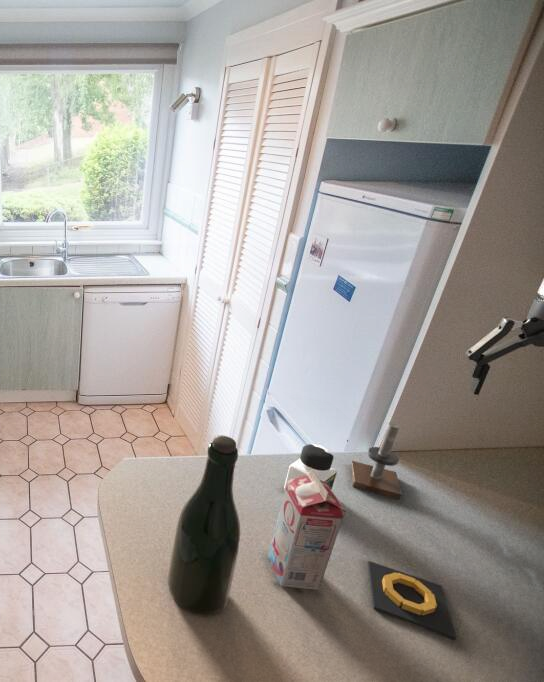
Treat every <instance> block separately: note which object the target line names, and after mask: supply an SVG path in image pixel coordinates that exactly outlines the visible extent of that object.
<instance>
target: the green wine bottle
mask: <svg viewBox="0 0 544 682" xmlns="http://www.w3.org/2000/svg"><path fill="white" fill-rule="evenodd" d="M206 453H207V454H206V455H207V457H206V461H205V466H204V470H203V474H202V477H201V480H200V481H199V484H198V485H197V487H196V489H195V490H194V491H193V492H192V494H191V495H190V497H189V498H188V499H187V500H186V502H185V503H184V505H183V507H182V508H181V511H180V513H179V517H178V520H177V525H176V528H175V533H174V539H173V545H172V551H171V556H170V561H169V568H168V574H167V588H168V590H169V593H170V594H171V596H172V599H174V601H175V602H176V603H177V604H178V606H180V607H181V608H182V609H184V610H186V611H188V613H189V612H190V613H192V614H195V615H197V616H202V617H204V616H205V617H210V616H215V615H217V614H219V613H221V612H222V611H223V610H224V609H225V608H226V607H227V605H228V602H229V600H230V599H229V598H230V595H231V590H232V586H233V580H234V574H235V570H236V565H237V560H238V555H239V554H238V553H239V550H240V549H239V548H240V539H241V521H240V518H239V513H238V510H237V509H238V508H237V506H236V502H235V498H234V476H235V469H236V464H237V462H238V458H239V451H238V448H237V442H236V440H235V439H234V438H232V437H230V436H228V435H215V437H213V440H212V441H211V442H210V443H209V445H208V447H207V451H206Z"/></svg>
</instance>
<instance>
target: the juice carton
mask: <svg viewBox="0 0 544 682" xmlns="http://www.w3.org/2000/svg"><path fill="white" fill-rule="evenodd" d="M345 513H346V510H345V509H344V507H343V506H342V504H341V502H340V501H339V499H338V498H337V496H336V495H335V493H334V492H333V491H332V489H330V488H329V486H328V485H327V484H326V483H325V482H323V481H321V480H319V478H318V477H317V475H316V474H315V472H314V471H313V469H312V468H311V467H310V471H309V475H305V476H302V477H298V478H295V479H291V480H289V481H288V482H287V486H286V490H285V489H284V493H283V498H282V502H281V505H280V510H279V513H278V516H277V517H278V518H277V521H276V525H275V529H274V532H273V536H272V540H271V544H270V546H269V551H268V555H267V557H268V559H269V562H270V564H271V567H272V569H273V572H274V574H275V576H276V578H277V581H278V583H279V586H280V587H287V588H297V589H305V590H314V591H315V590H316V591H319V590H320V588H321V586H322V582H323V579H324V576H325V573H326V570H327V567H328V564H329V561H330V559H331V555H332V552H333V549H334V546H335V543H336V540H337V537H338V534H339V531H340V529H341V526H342V522H343V520H344V515H345Z"/></svg>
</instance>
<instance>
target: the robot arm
mask: <svg viewBox="0 0 544 682" xmlns="http://www.w3.org/2000/svg"><path fill="white" fill-rule="evenodd" d="M537 294H538V296H535V298H534V299H533V302H532V304H531V307H530V308H529V311H528V313H527V317H526V318H525V319H524V320H522V321H521V320H516V319H512V318H511V317H509V316H503V317H502V319H501V320H500V322H499V323H498V325H497V326H496V327H495V328H494V329H492V330H491V331H490V332H489V333H488V334H486V335H485V336H484V337H483V338H481V339H480V340H479V341H478V342H476V343H475V344H473V346H471V347H470V348H469V349H467V350H466V351H465V353H464V354H465V355H466V357H467V358H468V360H470V361H473V362H474V363H473V365H472V368H471V370H470V376H471V378H473V380H472V382H471V384H470V388H469V389H470V391H471V393H472V394H473V395H476V396H479V395H480V392H481V390H482V387H483V386H484V383H485V381H486V378H487V376H488V374H489V371H490V369H491V366H490V364H489V363H492V362H493V361H495V360H497V359H500V358H502V357H504V356H506V355H508V354H510V353H512V352H515V351H516V350H519V349H521V348H525V347H527V346H529V345H533V346H534V347H540V348H544V278H543V279H542V281H541V284H540V286H539V288H538V290H537ZM518 328H520V330H521V332H520V333H518V334H516V335H514V336H512V338H510V339H507V340H506V341H504V342H501V343H499V344H498V345H496V344H497V343H498V342H500V341H501V340H502V339H504V338H505V337H506V336H507V335H508V334H509V333H510V332H513V331H515V330H517V329H518ZM495 345H496V346H495Z"/></svg>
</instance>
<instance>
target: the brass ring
mask: <svg viewBox="0 0 544 682" xmlns="http://www.w3.org/2000/svg"><path fill="white" fill-rule="evenodd" d="M395 583H401V584H404V585H407V586H410V587H413V588H414V589H415V590H416V591H417V592H418V593H420V594H421V595H422V596H423V597H424V601H425V603H422V604H416V603H414V602H411V601H408V600H405V599H404V598H403V597H402V596H400V595H399V594H398V593H397V592H396V591H395V590H394V589H393V584H395ZM382 584H383V591H384V592H385V594H386V595H387V596H388V597H389V598H390V599H391V600H392V601H393V602H394V603H395V604H396V605H398V606H401V608H402V609H405V610H407V611H410V612H413V613H415V614H418V615H420V614H421V615H422V616H423V615H426V614H429V613H432V612H434V611H435V609H436V607H437V604H436V600H435V596H434V594H432V592H431V591H430V590H429V589H428V588H427V587H425V586H424V585H423V584H422V583H421V582H419V581H418V580H417V581H416V580H415V578H412V577H409V576H406V575H403V574H400V573H396V572H395V573H392V574H388V575H385V576H384V577H383V580H382Z"/></svg>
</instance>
